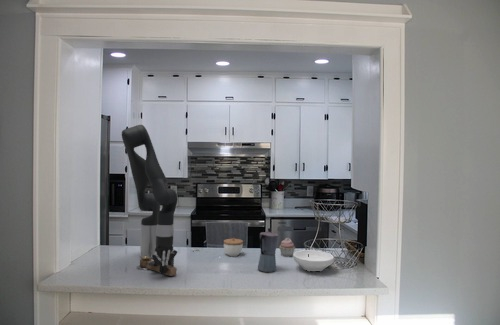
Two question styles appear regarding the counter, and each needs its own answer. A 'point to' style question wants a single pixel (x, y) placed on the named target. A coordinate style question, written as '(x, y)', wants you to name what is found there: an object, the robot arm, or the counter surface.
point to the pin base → (141, 267)
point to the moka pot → (267, 251)
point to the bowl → (313, 259)
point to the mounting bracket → (197, 249)
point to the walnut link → (157, 267)
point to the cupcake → (287, 247)
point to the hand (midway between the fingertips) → (163, 273)
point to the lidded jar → (233, 246)
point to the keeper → (157, 264)
